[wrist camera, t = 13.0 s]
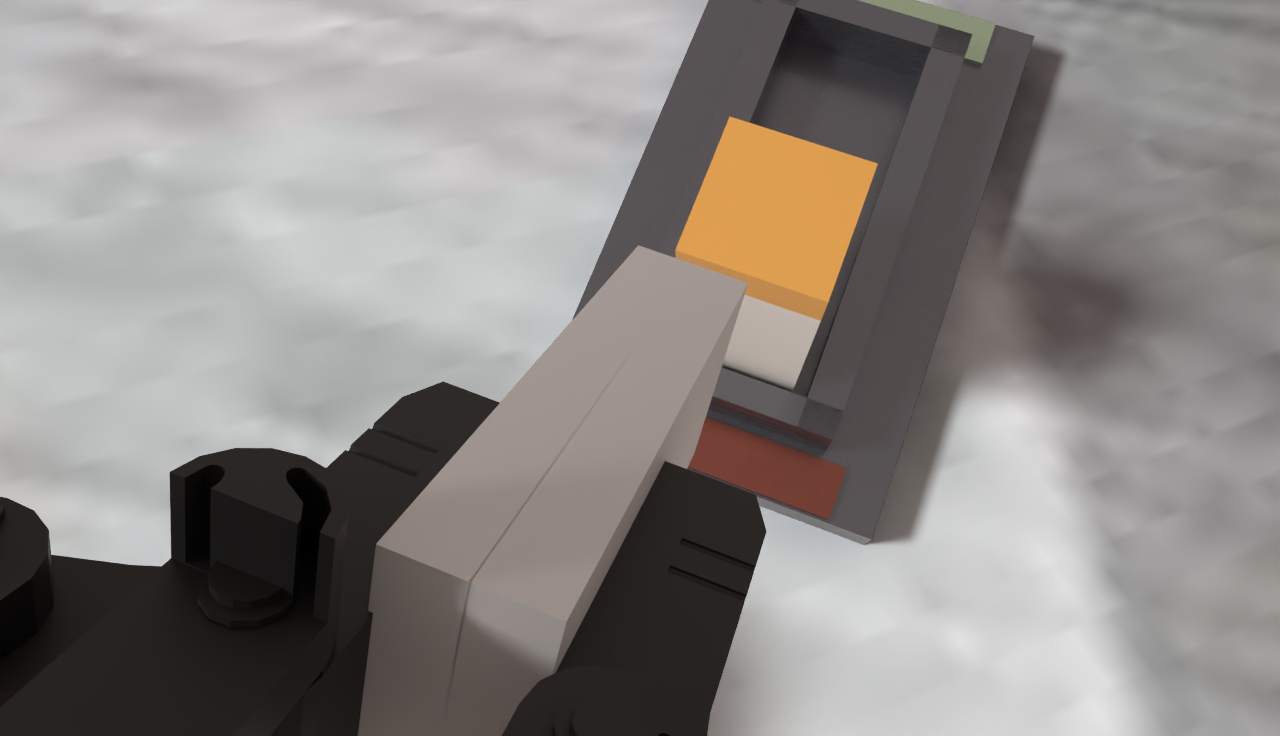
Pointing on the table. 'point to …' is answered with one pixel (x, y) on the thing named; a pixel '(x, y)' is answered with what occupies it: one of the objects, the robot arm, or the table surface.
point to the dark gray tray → (882, 239)
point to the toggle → (775, 240)
